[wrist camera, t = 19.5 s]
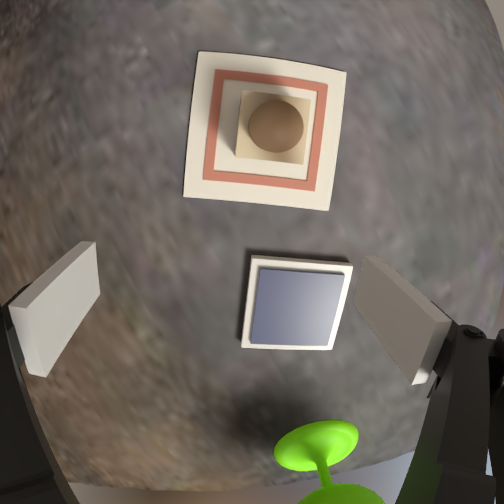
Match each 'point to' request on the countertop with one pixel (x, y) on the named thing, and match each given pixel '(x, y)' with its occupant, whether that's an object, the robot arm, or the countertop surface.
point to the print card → (225, 129)
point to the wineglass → (323, 460)
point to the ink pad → (294, 303)
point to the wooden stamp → (272, 127)
